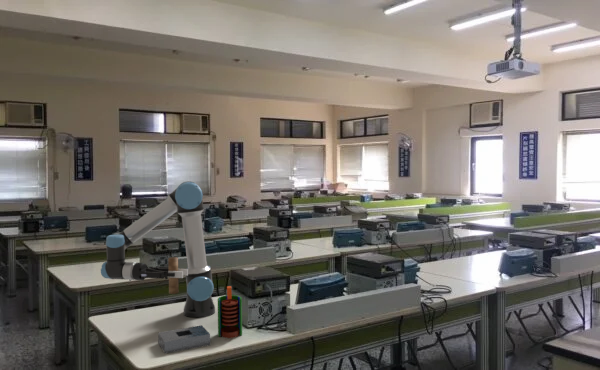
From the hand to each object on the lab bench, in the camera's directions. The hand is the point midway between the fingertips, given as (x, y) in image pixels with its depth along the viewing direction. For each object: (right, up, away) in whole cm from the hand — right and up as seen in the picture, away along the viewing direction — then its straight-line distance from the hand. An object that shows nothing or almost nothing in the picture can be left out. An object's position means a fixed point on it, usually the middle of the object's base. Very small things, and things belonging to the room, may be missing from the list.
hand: (185, 273), depth 207 cm
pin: (-5, -8, +2) cm, 10 cm away
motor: (+19, -26, 0) cm, 32 cm away
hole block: (+2, -26, -11) cm, 29 cm away
